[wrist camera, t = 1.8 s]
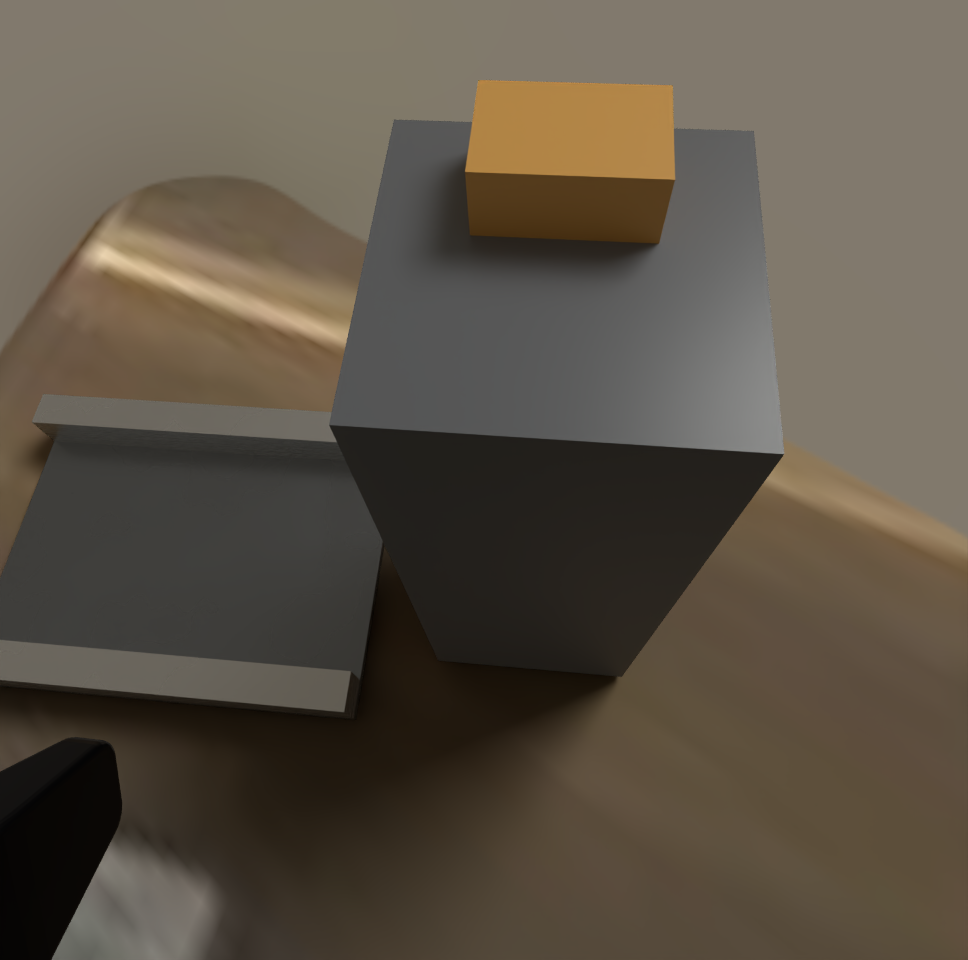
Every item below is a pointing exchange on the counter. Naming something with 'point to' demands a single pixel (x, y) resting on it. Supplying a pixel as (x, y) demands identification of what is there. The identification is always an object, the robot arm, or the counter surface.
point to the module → (559, 368)
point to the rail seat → (192, 560)
